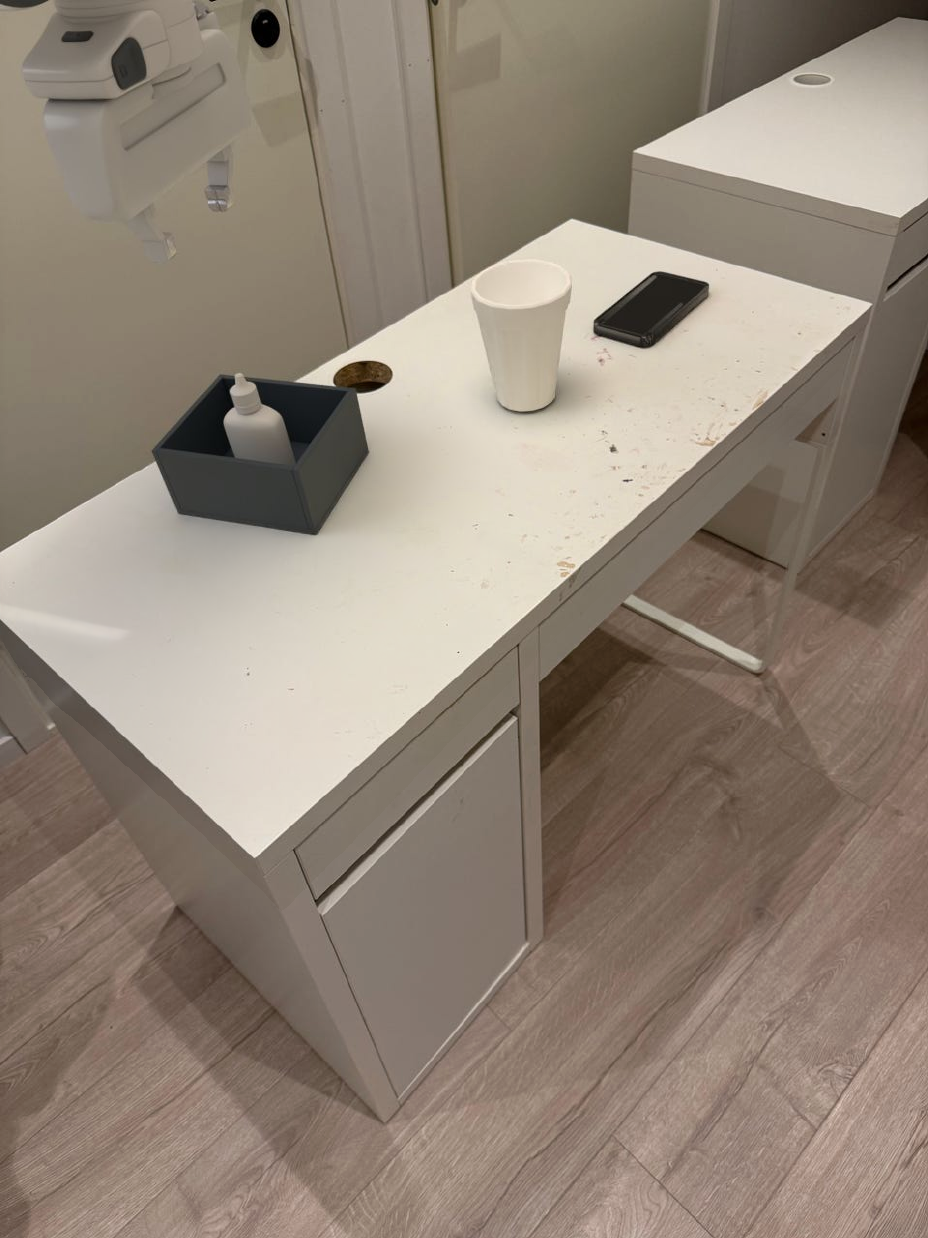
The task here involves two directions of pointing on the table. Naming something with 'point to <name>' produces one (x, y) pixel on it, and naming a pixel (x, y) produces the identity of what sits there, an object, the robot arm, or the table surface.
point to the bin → (263, 490)
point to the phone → (651, 308)
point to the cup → (522, 328)
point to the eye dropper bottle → (256, 427)
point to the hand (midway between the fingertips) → (195, 232)
